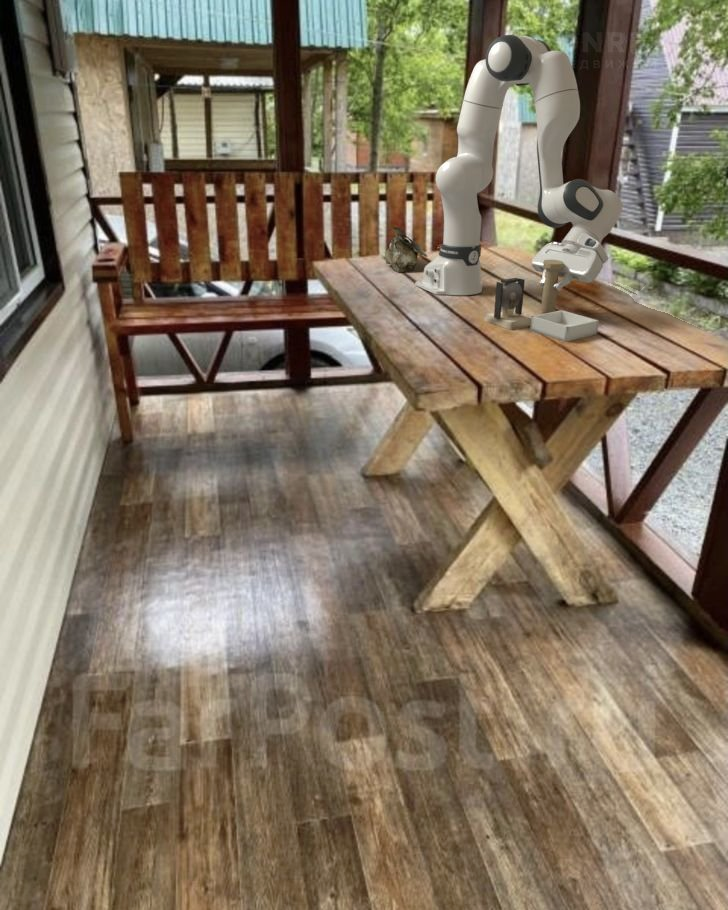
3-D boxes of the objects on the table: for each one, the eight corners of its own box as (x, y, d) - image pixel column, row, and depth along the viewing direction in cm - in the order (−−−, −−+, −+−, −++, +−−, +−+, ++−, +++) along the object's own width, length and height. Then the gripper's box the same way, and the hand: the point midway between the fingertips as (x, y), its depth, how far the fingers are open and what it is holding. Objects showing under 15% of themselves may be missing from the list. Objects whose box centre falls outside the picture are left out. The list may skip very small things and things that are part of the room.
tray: (529, 330, 189) (531, 316, 187) (560, 323, 195) (561, 310, 193) (566, 341, 180) (567, 327, 178) (596, 334, 185) (598, 320, 184)
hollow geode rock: (400, 271, 279) (373, 241, 275) (425, 247, 275) (398, 216, 271) (401, 285, 253) (371, 252, 249) (428, 259, 249) (398, 225, 245)
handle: (541, 321, 197) (548, 264, 190) (535, 315, 202) (541, 259, 196) (559, 321, 197) (566, 264, 191) (552, 314, 203) (558, 259, 196)
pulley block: (482, 321, 196) (485, 277, 191) (505, 317, 200) (508, 274, 196) (509, 330, 189) (513, 285, 184) (531, 325, 193) (536, 281, 188)
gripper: (545, 233, 202) (515, 273, 202) (604, 243, 187) (573, 287, 186) (554, 248, 206) (526, 287, 206) (613, 259, 191) (583, 302, 190)
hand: (549, 287), depth 196 cm, fingers closed on handle, 3 cm apart
